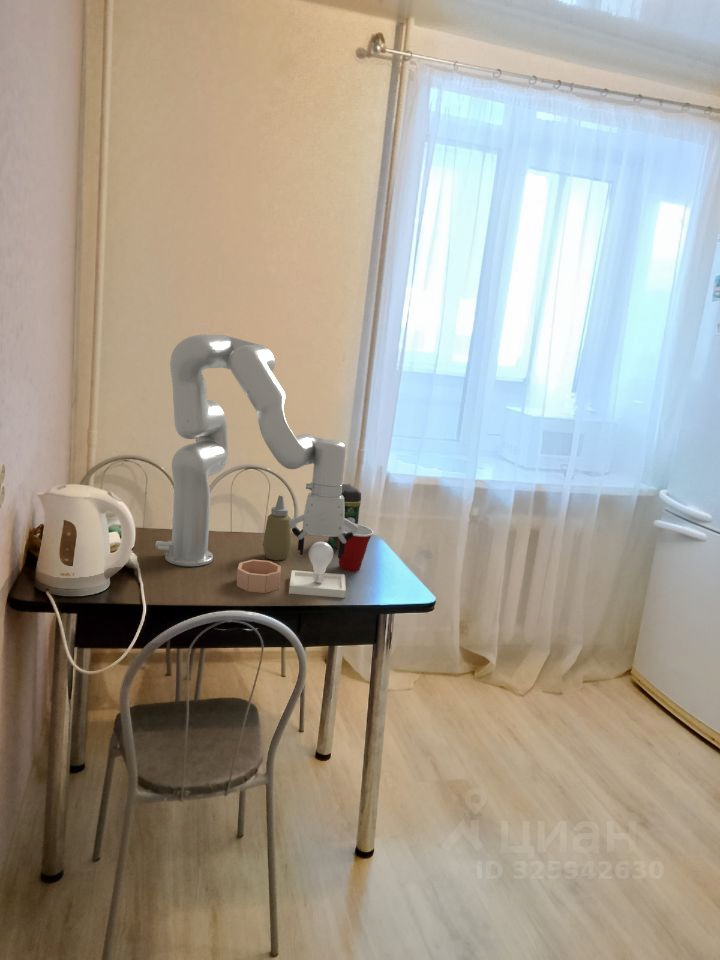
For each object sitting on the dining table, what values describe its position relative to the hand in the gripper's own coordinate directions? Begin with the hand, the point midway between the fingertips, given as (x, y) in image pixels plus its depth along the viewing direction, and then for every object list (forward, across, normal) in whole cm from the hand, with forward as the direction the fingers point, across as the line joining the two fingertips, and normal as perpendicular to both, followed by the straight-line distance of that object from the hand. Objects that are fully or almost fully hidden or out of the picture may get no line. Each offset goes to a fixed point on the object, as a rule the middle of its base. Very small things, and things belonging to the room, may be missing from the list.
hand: (320, 554), depth 184 cm
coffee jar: (+9, +7, +36) cm, 38 cm away
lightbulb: (+8, 0, 0) cm, 8 cm away
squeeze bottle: (+9, -12, +20) cm, 25 cm away
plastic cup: (+9, +9, +16) cm, 20 cm away
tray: (+9, 0, 0) cm, 9 cm away
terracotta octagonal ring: (+9, -15, -1) cm, 17 cm away
